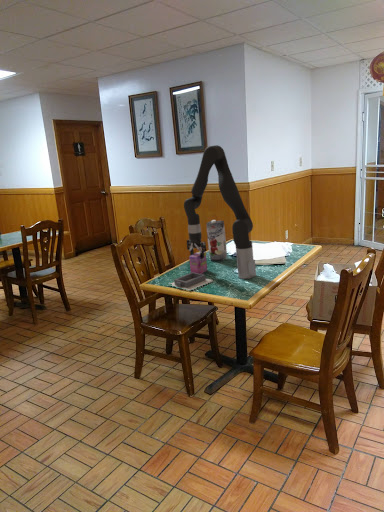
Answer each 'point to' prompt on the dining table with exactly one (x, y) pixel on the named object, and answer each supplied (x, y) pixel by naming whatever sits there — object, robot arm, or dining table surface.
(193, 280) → the board
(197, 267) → the box
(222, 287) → the dining table surface
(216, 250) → the juice carton
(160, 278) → the dining table surface
